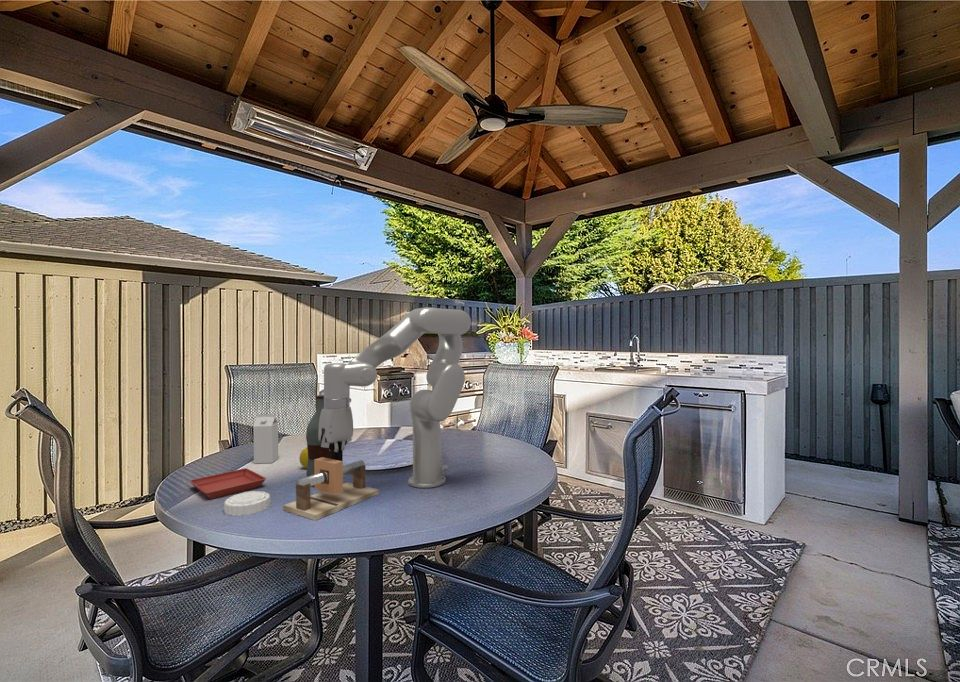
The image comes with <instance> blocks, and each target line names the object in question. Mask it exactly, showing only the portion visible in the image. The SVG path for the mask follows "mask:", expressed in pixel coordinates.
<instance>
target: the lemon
mask: <svg viewBox="0 0 960 682" xmlns="http://www.w3.org/2000/svg"><path fill="white" fill-rule="evenodd" d="M299 463H300V465H301V466H302V467H304V468H306V469H307V464H308V449H307V447H305V448H303V449H302V450H301V452H300V455H299Z"/></svg>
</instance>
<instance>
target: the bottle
mask: <svg viewBox="0 0 960 682" xmlns="http://www.w3.org/2000/svg"><path fill="white" fill-rule="evenodd" d="M315 399H316V400H315V402H316V403H315V405H316V406H315V412H314V414H313V416H312V417H311V419H310V420H309V422H308V424H307V426H306V433H305V438H306V439H305V440H306V448H307V449H308V464H307V468H306V477H308V476H311V475H314V459H318V458H322V457H324V458H329V459H331V451H330V450H329V449H328V448H324V447H321V444H322V442H321V441H319V439H318V431H319V420H320V414H321V410H322V409H324V394H318V395H317V394H316V396H315ZM312 487H313V488H315V486H312ZM312 487H311V488H312Z"/></svg>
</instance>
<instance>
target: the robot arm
mask: <svg viewBox="0 0 960 682" xmlns="http://www.w3.org/2000/svg"><path fill="white" fill-rule="evenodd" d="M471 325H472V320H471V316H470V315H469V313H467V312H466V311H464V310H462V309H455V308H453V309H451V308H439V307H438V308H437V307H426V306H425V307H419V308H415V309H412V310H411V311H409V312H408V313H407V314H405V316H403V318H402V319H400V320H399V321H398V322H397V323H396V324H394V326H392V327H391V328H390V329H389V330H388V331H387V332H385V333H384V334H383V335H382V336H380V337H379V338H377V339H376V340H375V341H373V342H372V343H371V344H369V345H367V346H366V347H365V348H364V349H363V350H361V351H360V352H359V353H358V354H357V355H356V356H354V357H353V358H352V359H351V360H350V361H349V362H348V363H343V362H336V363H327V364H325V365H324V367H323V395H324V409H322V410H321V414H320V420H319V431H318V439H319V441H321V442H322V444H321V447H324V448H328V449H329V450H330V451H331V459H334V460H339V461H343V459H344V457H343V451H344V450H345V447H346V446H347V444H349V443H350V442H352V440H353V439H352V438H353V436H354V419H353V413H352V412H353V411H352V407H351V404H350V403H352V399H351V397H350V391H351V390H350V389H351V388H350V387H362V388H363V387H368V386H370V385H373V384H374V383H375V381H376V380H377V378H378V372H377V371H378V370H377V369H376V368H377V367H378V366H380V365H381V364H383V363H385V362H387V361H388V360H392V359H393V358H396V357H398V356H401V355H403V354H404V353H405V352H406V351H407V350H408V349H409V348H410V347H411V346H412V345H413V344H414V343H416V342H417V340H418V339H419V338H421V337H422V336H423V335H424V334H435V335H436V334H437V335H438V341H439V344H438V347H437V350H436V353H435V354H434V356H433V359H432V361H431V362H430V363H431V364H430V365H429V368H428V370H427V371H426V374H425V375H426V376H425V377H426V381H427V384H428V385H429V386H431V387H433V389H432V390H431V389H420V390H417V391H416V392H415V393H414V394H413V395H412V397H411V398H410V399H411V400H410V403H409V408H410V415H411V422H412V423H411V424H412V476H410V477H409V478H408V484H409V485H410V486H411V487H413V488H419V489H423V488H424V489H425V488H427V489H428V488H429V489H431V488H436V487H439V486H443V485H444V484H445V483H446V482H447V481H446V480H447V479H446V477H445V475H443V473H444V472H446V471H448V469H449V466H448V465H447V464H445V465H442V454H441V453H442V441H441V439H442V433H441V432H442V431H441V423H440V422H442V421H445V420H446V419H448V418H449V416H451V414H452V412H453V411H454V408H455V406H456V404H457V401H458V399H459V398H460V395H461V394H462V393H461V392H462V390H463V388H464V384H465V381H466V375H465V374H466V373H465V371H464V368H463V367H462V366H461V365H460V364H459V362H460V359H461V357H462V353H463V350H464V349H463V347H464V346H463V340H462V337H461V336H462V335H464V334H467V332H468V331H469V330H470V328H471V327H472V326H471ZM343 462H344V461H343Z"/></svg>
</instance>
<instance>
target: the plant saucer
mask: <svg viewBox="0 0 960 682" xmlns="http://www.w3.org/2000/svg"><path fill="white" fill-rule="evenodd" d="M266 480H267V478H266V477H265V476H262V475H261V474H259V473H256V472H255V471H253V470H251V469H249V468H241V469H237V470H232V471H226V472H222V473H217V474H213V475H208V476H203V477H200V478H198V477H197V478H195V479H191V480H189V483H190V484H191V485H192V486H194V488H195V489H197V490H198V491H200V492H201V494H203V495H204V496H206V497H207V498H209V499H216V498H221V497H225V496H229V495H234V494H238V493H242V492H246V491H248V490H252V489H257V488H260V486H261V485H262V484H263V483H265V481H266Z"/></svg>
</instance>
